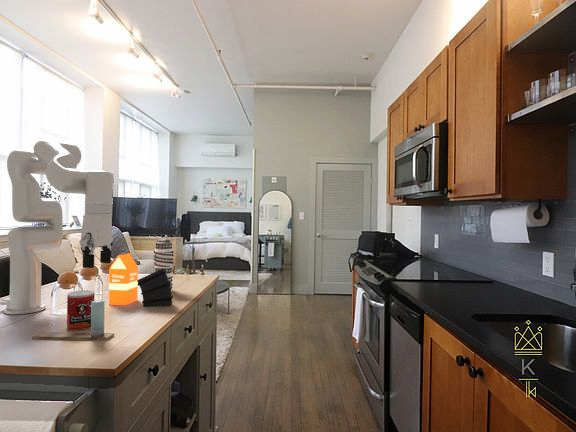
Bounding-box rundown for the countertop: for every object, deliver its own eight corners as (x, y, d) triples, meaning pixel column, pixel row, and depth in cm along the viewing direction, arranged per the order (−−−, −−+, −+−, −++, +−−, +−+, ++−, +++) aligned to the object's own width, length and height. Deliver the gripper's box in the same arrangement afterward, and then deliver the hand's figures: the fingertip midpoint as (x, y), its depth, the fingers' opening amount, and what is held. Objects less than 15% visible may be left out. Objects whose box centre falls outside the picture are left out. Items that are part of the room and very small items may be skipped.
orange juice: (137, 300, 154) (138, 253, 154) (126, 305, 145) (127, 255, 145) (120, 299, 155) (121, 253, 154) (108, 304, 146) (109, 255, 146)
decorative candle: (169, 293, 167) (170, 240, 167) (149, 293, 167) (150, 239, 167) (175, 289, 176) (176, 238, 176) (157, 289, 176) (158, 238, 176)
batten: (32, 339, 105) (32, 336, 105) (41, 334, 109) (41, 331, 109) (107, 340, 105) (107, 337, 105) (114, 335, 109) (114, 333, 109)
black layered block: (179, 302, 145) (163, 268, 143) (148, 317, 143) (131, 283, 141) (180, 299, 148) (164, 267, 147) (149, 314, 146) (133, 281, 145)
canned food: (67, 331, 112) (68, 296, 112) (66, 324, 118) (66, 291, 118) (95, 327, 116) (95, 294, 116) (92, 321, 123) (93, 289, 122)
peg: (88, 337, 105) (88, 303, 105) (94, 333, 109) (95, 300, 109) (100, 337, 105) (100, 303, 105) (106, 333, 109) (106, 300, 109)
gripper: (101, 210, 120) (100, 261, 120) (69, 209, 103) (67, 269, 103) (123, 210, 120) (122, 261, 120) (95, 210, 103) (93, 270, 103)
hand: (97, 265), depth 112 cm, fingers open, 9 cm apart
